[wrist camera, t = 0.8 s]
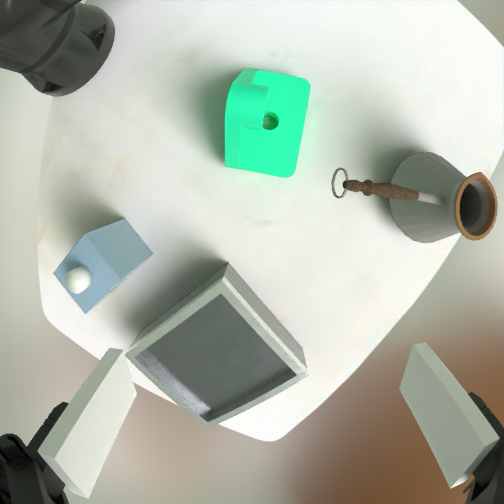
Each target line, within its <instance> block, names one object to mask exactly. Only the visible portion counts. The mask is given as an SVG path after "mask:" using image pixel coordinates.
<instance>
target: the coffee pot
mask: <svg viewBox="0 0 504 504" xmlns="http://www.w3.org/2000/svg"><path fill="white" fill-rule="evenodd" d="M339 170H343V171H344V173H345V176H346V181H344V182H343V188H345V190H344V192H343V194H342V196H337V195H336V192H335V189H334V180H335V176H336V174H337V172H338V171H339ZM347 189H348V190H350V191H353V192H358V191H362V192H363V194H364V195H366V196H370V195H371V194H376V195H379V196H381V197H384V198H387V199H389V203H390V207H391V211H392V216H393V218H394V220H395V222H396V224H397V226H398V227H399V228H400V229H401V231H402V232H403V233H404V234H405V235H406V236H408V237H409V238H411V239H412V240H414V241H417V242H421V243H432V242H435V241H438V240H441V239H444V238H446V237H449V236H452V235H454V234H457V233H460V232H461V234H462V235H463V236H465V237H466V238H467V239H470V240H480V239H482V238H484V237H485V236H486V235H488V233H489V232H490V231H491V229H492V228H493V226H494V223H495V220H496V216H497V206H498V205H497V197H496V193H495V190H494V188H493V186H492V185H491V183H490V181H489V180H488V179H487V178H486V177H485V176H484V175H483V174H482V173H481V172H478V173H474V174H472V175H470V176H468V177H466V176H464V175H463V174H462V173H461V172H460V171H459V170H457V169H456V168H455V167H454V166H453V165H451V164H450V163H449V162H448V161H446V160H445V159H444V158H443V157H441V156H439V155H437V154H434V153H430V152H420V153H416V154H413V155H411V156H410V157H408V158H407V159H405V160H404V161H403V162H402V163H401V164H400V165H399V167H398V168H397V170H396V172H395V174H394V176H393V178H392V181H391V184H390V183H376V184H374V183H373V182H372V181H371V180H365V181H364V182H359V181H358V180H348V174H347V172H346V170H345V169H343V168H338V169H336V171H335V173H334V174H333V178H332V191H333V194H334V196H335V197H337V198H342V197H344V195H345V194H346V192H347Z"/></svg>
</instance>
